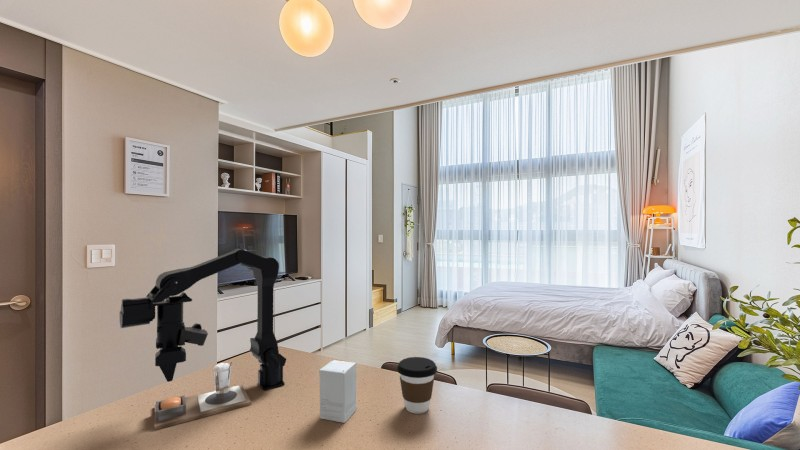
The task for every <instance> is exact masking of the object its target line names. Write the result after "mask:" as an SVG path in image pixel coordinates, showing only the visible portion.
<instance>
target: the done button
mask: <svg viewBox="0 0 800 450" xmlns="http://www.w3.org/2000/svg"><path fill="white" fill-rule="evenodd" d="M161 401H162V400H161ZM180 405H181V398H179V396H173V397H172V396H171V397H169V398H165V399H163V401H162V402H161V410H163V409H168V408H172V407H176V406H180Z"/></svg>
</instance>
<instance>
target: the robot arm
mask: <svg viewBox="0 0 800 450" xmlns="http://www.w3.org/2000/svg"><path fill="white" fill-rule="evenodd" d="M239 264H241V265H244V266H246V267H249V268H251V269H252V273H253V277H254V280H255V283H256V285H257V329H256V330H257V331H256V334H255V337H250V339H249V342H250V349H249V352H250V353H251V354H252V356H253V357H254V358H255V359H257V361H258V363H259V369H258V371H257V381H258V382H257V384H258V386H259V387H261V389H262V390H263V391H264V390H265V391H266V390H269V389H274V388H276V387H280V386H281V387H283V386H285V381H284V366H285V365H286V363H287V358H286V357H285V356H283V355H282V354H281V353H279V347H278V346H279V345H278V341H277V338H276V336H275V331H274V286H275V284H276V282H277V279H278V276H279V271H280V270H279V269H280V262H279V261H278V260H277V259H276V258H274V257H269V256H265V255H264V256H260V255H258V254H255V253H252V252H250V251H249V250H247V249H243V248H242V249H241V248H235V249H233V250H232V251H229V252H227V253H225V254H224V253H223V254H221V255H219V256H216V257H213V258H211V259H209V260H206V261H203V262H200V263H198V264H196V265H193V266H190V267H183V268H182V267H181V268H177V269H173V270H169V271H168V270H167V271H164V272H162V273H160V274H159V275H158V276H157V278H156V279H155V285H154V286H153V288H152V289H151V290H150V291H149V292H148V294H147V295H146V297H138V298H122V299H121V306H120V311H119V327H120V329H125V328H134V327H138V326H139V327H140V326H144V325H150V324H151V322H153V321H154V320H155V319H156V338H155V348H156V350H158V349H159V350H158V351H157V352H156V353H155V358H154V360H155V362H154V365H155V367H159V369H160V370H161V372H162V373H163V377H164V378H165V380H166V382H168V383H169V382H172V381H174V375H175V372H176V369H177V364H179V363H184V362H186V361H187V352H186V351H187V350H186V349H185V348H184V347H183V346H186V343H187V344H193V345H197V346H200V347H201V346H202V347H203V346H204V345H205V342H206V340H207V338H208V335H209V333H208V330H205V328H204V329H202V324H201V323H194V324H193V325H192V326H189V327H188V326H186V325H185V322H184V303H188V302H193V298H191V297H190V296H188V295H187V293H186V292H185V291H187V290H188V289H190V288H191V287H192V286H194V285H195V284H196V283H198V282H199V281H201V280H203V279H206V278H208V277H211V276H213V275H216V274H218V273H220V272H222V271H225V270H227V269H230V268H232V267H235V266H237V265H239ZM156 311H157V312H156ZM156 315H157V316H156Z"/></svg>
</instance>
